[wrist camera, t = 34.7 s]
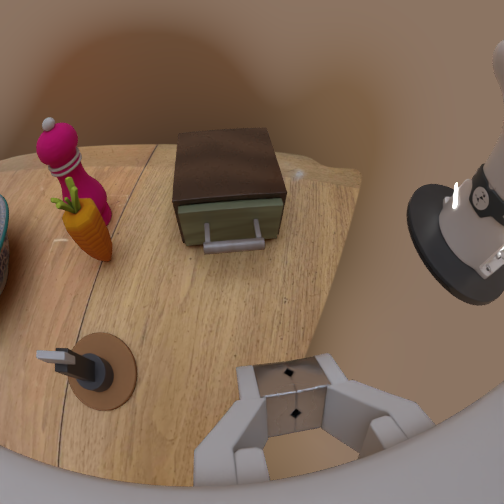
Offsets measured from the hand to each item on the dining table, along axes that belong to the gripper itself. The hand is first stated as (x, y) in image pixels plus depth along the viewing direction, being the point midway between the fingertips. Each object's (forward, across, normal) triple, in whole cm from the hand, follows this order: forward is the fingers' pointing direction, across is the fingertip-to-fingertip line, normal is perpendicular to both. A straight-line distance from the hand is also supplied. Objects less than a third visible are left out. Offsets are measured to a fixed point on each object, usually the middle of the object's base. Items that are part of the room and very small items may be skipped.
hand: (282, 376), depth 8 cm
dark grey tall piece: (+18, +18, +13) cm, 29 cm away
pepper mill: (+36, +22, -3) cm, 42 cm away
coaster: (+19, +18, +14) cm, 29 cm away
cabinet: (+37, 0, -4) cm, 37 cm away
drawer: (+33, 0, -2) cm, 34 cm away
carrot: (+31, +18, +2) cm, 36 cm away
